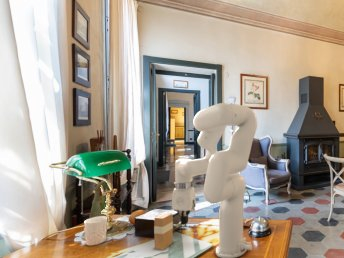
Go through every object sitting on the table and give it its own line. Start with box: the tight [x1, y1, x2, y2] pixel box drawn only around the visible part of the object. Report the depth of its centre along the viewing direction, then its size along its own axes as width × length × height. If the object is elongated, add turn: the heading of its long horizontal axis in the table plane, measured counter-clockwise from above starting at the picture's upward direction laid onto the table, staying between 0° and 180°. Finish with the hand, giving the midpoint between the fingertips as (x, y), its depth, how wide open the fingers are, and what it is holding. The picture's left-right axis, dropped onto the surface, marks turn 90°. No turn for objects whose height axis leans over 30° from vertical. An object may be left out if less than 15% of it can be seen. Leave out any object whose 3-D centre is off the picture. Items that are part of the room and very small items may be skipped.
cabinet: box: [134, 208, 180, 239], centre depth 114 cm, size 15×13×8 cm
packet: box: [153, 213, 174, 251], centre depth 100 cm, size 4×6×13 cm
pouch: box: [88, 178, 108, 222], centre depth 115 cm, size 11×12×25 cm
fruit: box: [128, 209, 147, 226], centre depth 123 cm, size 8×8×8 cm
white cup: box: [83, 216, 108, 246], centre depth 103 cm, size 8×8×10 cm
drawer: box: [173, 214, 183, 232], centre depth 113 cm, size 18×12×6 cm, turn 78°
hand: (184, 223), depth 111 cm, fingers closed
